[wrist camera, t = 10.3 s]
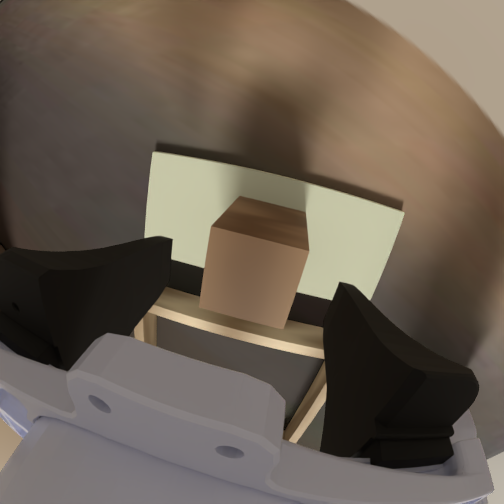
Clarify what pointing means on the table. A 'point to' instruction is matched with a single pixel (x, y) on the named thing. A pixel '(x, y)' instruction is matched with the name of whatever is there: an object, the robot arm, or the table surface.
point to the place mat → (280, 193)
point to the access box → (287, 339)
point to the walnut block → (255, 261)
